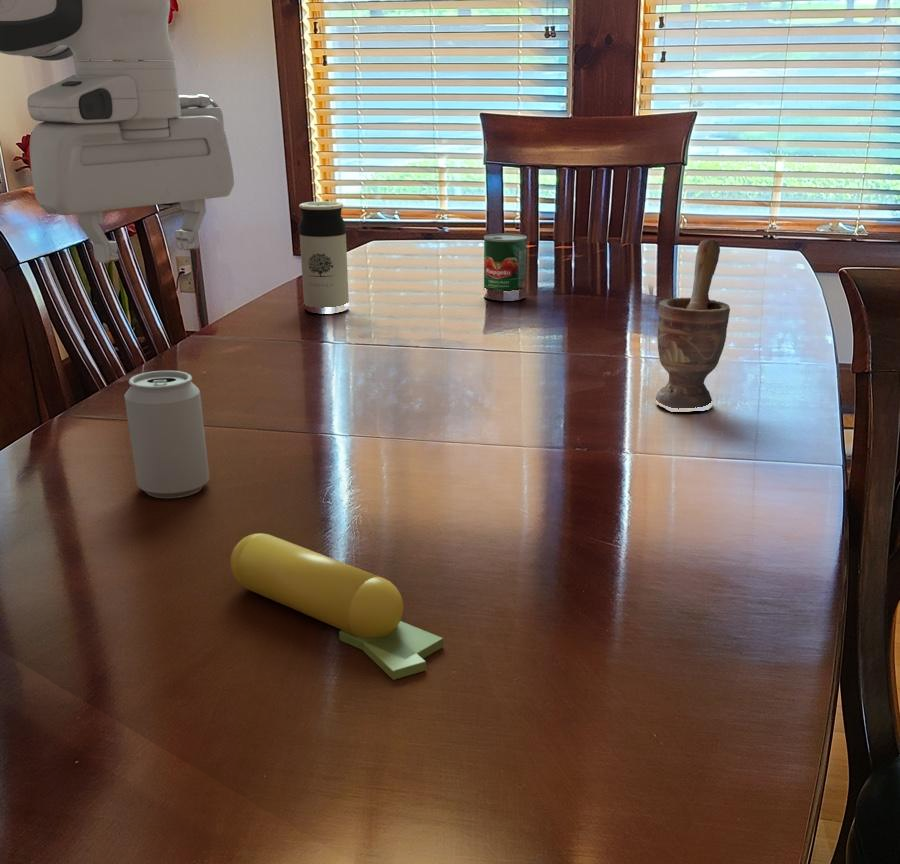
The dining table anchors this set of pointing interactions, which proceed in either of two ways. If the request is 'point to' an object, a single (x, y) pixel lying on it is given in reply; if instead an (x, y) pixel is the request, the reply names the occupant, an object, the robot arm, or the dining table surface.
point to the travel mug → (323, 254)
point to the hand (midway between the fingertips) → (149, 255)
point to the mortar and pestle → (692, 335)
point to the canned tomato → (504, 262)
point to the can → (167, 434)
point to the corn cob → (336, 600)
